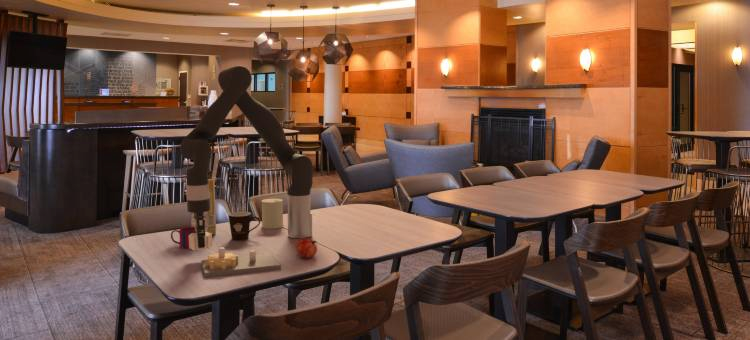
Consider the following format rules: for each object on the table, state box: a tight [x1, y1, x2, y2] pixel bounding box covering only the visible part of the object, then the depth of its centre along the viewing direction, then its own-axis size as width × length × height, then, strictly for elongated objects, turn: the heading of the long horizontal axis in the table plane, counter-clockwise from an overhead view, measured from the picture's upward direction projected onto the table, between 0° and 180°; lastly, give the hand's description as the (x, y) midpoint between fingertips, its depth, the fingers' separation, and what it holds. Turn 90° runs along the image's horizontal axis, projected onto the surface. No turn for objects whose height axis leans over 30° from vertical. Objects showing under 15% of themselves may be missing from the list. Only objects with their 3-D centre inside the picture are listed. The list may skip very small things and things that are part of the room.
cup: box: [170, 226, 197, 250], centre depth 209 cm, size 7×10×7 cm
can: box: [261, 198, 284, 230], centre depth 240 cm, size 9×9×12 cm
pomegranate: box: [295, 237, 318, 259], centre depth 195 cm, size 7×7×10 cm
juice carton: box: [190, 178, 217, 236], centre depth 225 cm, size 9×8×24 cm
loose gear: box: [188, 232, 213, 251], centre depth 191 cm, size 8×6×4 cm
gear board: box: [200, 246, 282, 278], centre depth 184 cm, size 24×14×7 cm, turn 111°
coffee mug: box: [228, 211, 261, 242], centre depth 219 cm, size 12×9×10 cm
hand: (200, 244), depth 192 cm, fingers closed on loose gear, 6 cm apart
